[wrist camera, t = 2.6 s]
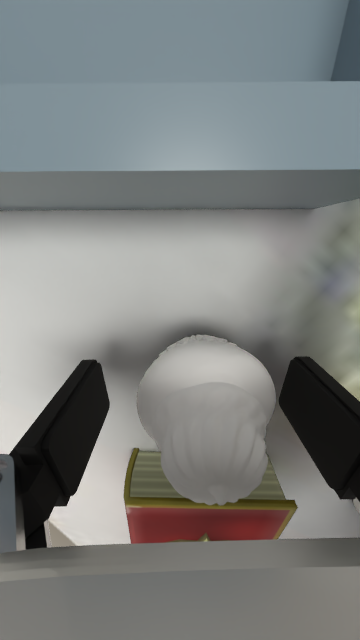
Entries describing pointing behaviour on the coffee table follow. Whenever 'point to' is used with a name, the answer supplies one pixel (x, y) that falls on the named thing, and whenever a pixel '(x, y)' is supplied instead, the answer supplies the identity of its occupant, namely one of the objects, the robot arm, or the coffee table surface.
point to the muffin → (208, 417)
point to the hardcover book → (198, 508)
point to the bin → (179, 104)
